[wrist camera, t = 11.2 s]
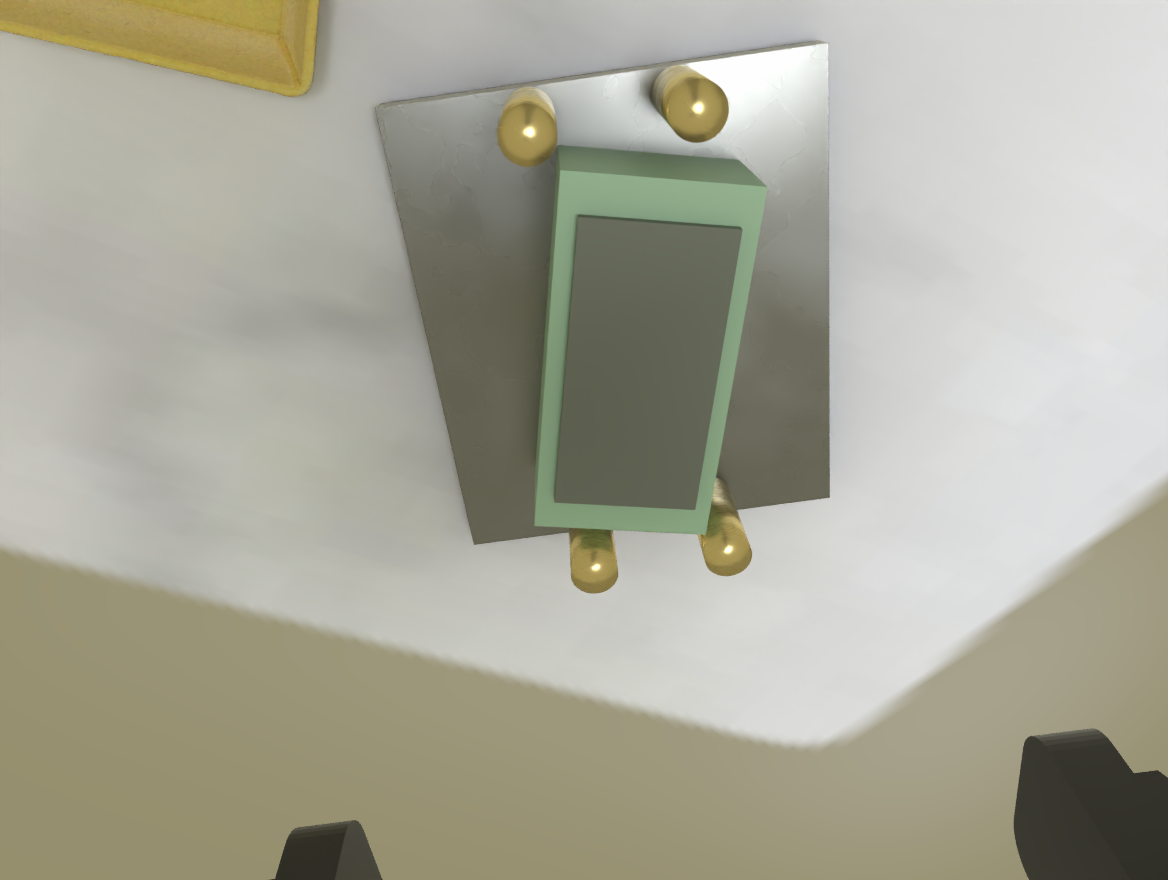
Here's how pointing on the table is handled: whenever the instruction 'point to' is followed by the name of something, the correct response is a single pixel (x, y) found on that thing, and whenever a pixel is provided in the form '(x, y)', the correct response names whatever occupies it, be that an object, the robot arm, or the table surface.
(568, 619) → the table surface
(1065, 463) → the table surface
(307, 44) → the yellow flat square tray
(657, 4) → the table surface
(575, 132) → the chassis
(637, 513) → the green rectangular block
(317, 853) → the robot arm
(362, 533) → the table surface
